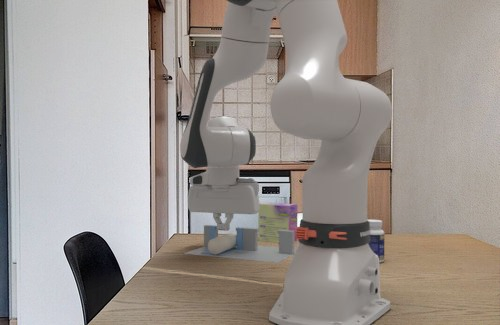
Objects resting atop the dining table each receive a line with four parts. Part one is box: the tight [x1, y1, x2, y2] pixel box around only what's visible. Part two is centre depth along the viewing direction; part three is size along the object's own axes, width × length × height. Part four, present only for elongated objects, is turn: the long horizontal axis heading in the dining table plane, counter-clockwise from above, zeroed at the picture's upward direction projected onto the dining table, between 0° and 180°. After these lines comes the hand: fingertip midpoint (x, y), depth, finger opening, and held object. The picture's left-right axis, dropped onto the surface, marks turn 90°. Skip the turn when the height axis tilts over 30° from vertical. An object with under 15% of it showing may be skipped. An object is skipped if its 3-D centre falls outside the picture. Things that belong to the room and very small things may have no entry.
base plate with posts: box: [183, 224, 297, 264], centre depth 120 cm, size 18×26×7 cm
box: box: [257, 202, 298, 244], centre depth 137 cm, size 10×6×12 cm, turn 58°
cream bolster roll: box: [208, 231, 237, 255], centre depth 121 cm, size 12×4×4 cm
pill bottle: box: [367, 219, 385, 264], centre depth 112 cm, size 6×6×10 cm
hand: (223, 230), depth 122 cm, fingers closed
